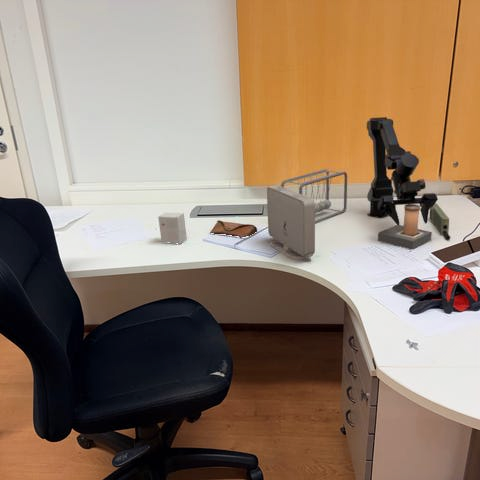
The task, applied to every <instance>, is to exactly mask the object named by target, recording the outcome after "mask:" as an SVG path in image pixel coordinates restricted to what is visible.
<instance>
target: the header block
mask: <svg viewBox="0 0 480 480" xmlns="http://www.w3.org/2000/svg"><path fill="white" fill-rule="evenodd" d="M403 229H404V225H401V224H399V225H397V224H395V225H393V226H391V227H388V228H386V229H383V230H381V231H379V232H378V233H377V242H381V243H385V244H390V245H393V246H397V247H400V246H401V247H400V248H404V247H405V249H408V250H412V249H413V250H414V249H416V248H419V247H420V246H423V245H425V244H427V243H429V242H430V241H432V235H433V233H432V231H428V230H425V229H419V228H418V229H417V235H416V236H414V237H412V236H408V235H404V234H403ZM418 246H419V247H418Z"/></svg>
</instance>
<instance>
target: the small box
mask: <svg viewBox="0 0 480 480" xmlns="http://www.w3.org/2000/svg"><path fill="white" fill-rule="evenodd" d="M157 218H158V225H159V232H160V233H159V234H160V239H161V240H160V241H161V243H162V242H170V243H178V244H177V245H182V244H183V243H184V242H185V241H187V240H188V238H187V237H188V236H187V229H186V218H185V213H184V212H163V213H162V214H160V215H158V217H157ZM186 239H187V240H186ZM184 240H185V241H184ZM183 241H184V242H183ZM182 242H183V243H182ZM181 243H182V244H181Z"/></svg>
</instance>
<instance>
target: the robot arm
mask: <svg viewBox="0 0 480 480" xmlns="http://www.w3.org/2000/svg"><path fill="white" fill-rule="evenodd" d="M366 130H367V133H368V136H369V138H370V139H371V140H372V148H373V165H374V167H373V168H374V169H373V170H374V171H373V172H374V178H373V179H372V181H371V183H370V188H369V190H368V193H367V197H366V198H367V201H368V202H369V203H370V206H369V208H370V209H369V213H367V216H370V217H375V218H380V219H382V218H384V217H387V216H388V217H390V218H391V220H392V221H393V223H395V225H401V224H400V218H399V215H398V212H397V209H396V208H397V207H396V206H400V205H401V206H403V205H404V206H405V205H408V204H415V205H419V206H420V210H419V212H420V213H421V217H422V220H423V223H424V224H426V225H427V223H428V221H429V220H428V219H429V214H430V208H431V207H433V205H434V204H435V203H436V202H437V201H438V200H439V199H438V195H437V194H436V193H434V192H431V193H429V192H428V193H423V194H422V196H421V197H418V195H419V192H421V191H422V190H425V189H426V182H425V178H424V179H418V180H416V181H412V179H411V176H412V175H413V174H414V173H415V170H416V168H417V167H418V165H419V163H420V160H419V157H417V156H416V155H415V154H414V153H412V152H411V150H409V151H408V150H407V151H406V150H405V149H404V148H403V147H402V146H400V143H399V139H398V137H397V134H396V131H395V128H394V120H393V119H392V118H387V116H383V117H381V116H380V117H379V116H378V117H371V118H369V120H368V121H367V122H366ZM387 170H389V171H391V170H393V171H392V173H391V177H390V178H389V177H388V175H387V173H388V171H387ZM393 195H396V198H394V196H393ZM436 204H437V203H436Z"/></svg>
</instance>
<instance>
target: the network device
mask: <svg viewBox="0 0 480 480" xmlns="http://www.w3.org/2000/svg"><path fill="white" fill-rule="evenodd" d="M266 202H267V203H266V204H267V227H268V229H267V230H268V235H269V236H270V237H271V238H273V239H275V240H272V241H270V242H269V246H270V247H271V248H274V249H275V250H276V251H278V252H279V253H281V254H282V255H284V257H285V256H286V257H287V258H288V259H290V260H304V259H308V258H311V257H313V256H314V254H315V253H316V223H315V220H316V213H315V203H316V201H315V199H313V198H312V197H309V196H307V195H304V194H302V195H301V194H299V192H297V191H293V190H290V189H288V188H286V187H285V186H284V187H281V185H271V186H267V188H266ZM279 243H281V244H282V245H283V247H279V246H277V245H276V244H279ZM293 251H294V252H295V253H296V254H298V256H293V255H291V254H290V253H288V252H293Z"/></svg>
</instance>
